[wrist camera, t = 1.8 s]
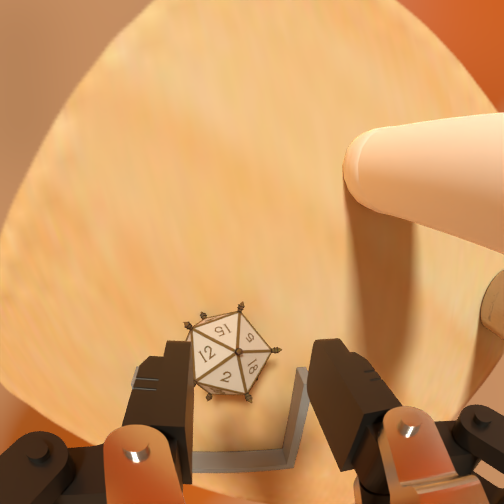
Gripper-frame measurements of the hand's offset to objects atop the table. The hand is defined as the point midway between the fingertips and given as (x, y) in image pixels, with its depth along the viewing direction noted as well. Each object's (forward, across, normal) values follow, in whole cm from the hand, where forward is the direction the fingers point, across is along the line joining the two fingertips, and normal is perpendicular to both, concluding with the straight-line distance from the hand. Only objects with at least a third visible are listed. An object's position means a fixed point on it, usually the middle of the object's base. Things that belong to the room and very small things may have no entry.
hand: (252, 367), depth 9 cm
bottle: (+19, -14, -7) cm, 25 cm away
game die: (+20, 0, +10) cm, 22 cm away
